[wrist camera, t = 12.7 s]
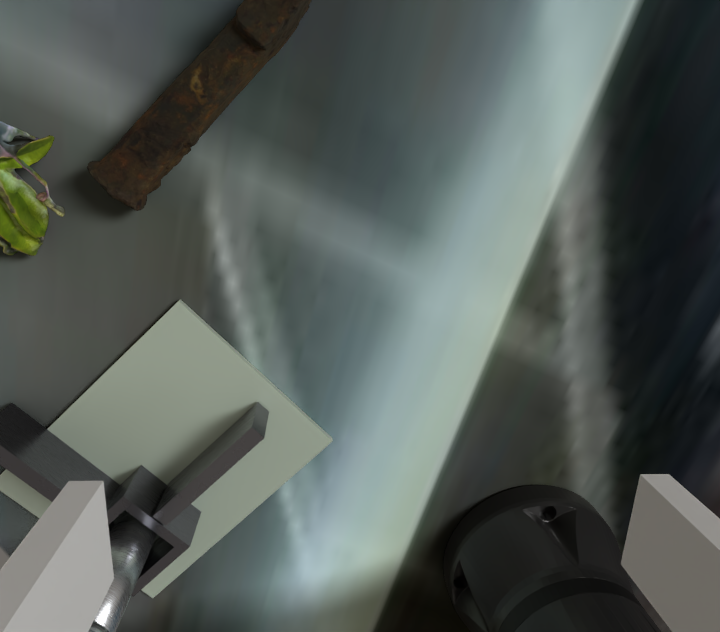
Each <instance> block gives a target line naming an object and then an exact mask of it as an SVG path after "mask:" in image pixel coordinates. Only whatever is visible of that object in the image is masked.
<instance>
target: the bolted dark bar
mask: <svg viewBox="0 0 720 632" xmlns="http://www.w3.org/2000/svg"><path fill="white" fill-rule="evenodd" d="M268 416H269V411H268V410H267V409H266V408H264V407H263V406H262V405H261V404H260V403H259V402H257V403H256V404H255V405H254V406H253V407H252V408H250V409H249V410H248V411H247V412H246V413H245V414H244V415H243V416H242V417H241V418H239V419H238V420H237V421H236V422H235V423H234V424H233V425H232V426H231V427H230V428H228V429H227V430H226V431H225V432H224V433H223V434H222V435H221V436H220V437H219V438H217V439H216V440H215V441H214V442H213V443H212V444H211V445H210V446H209V447H208V448H207V449H205V450H204V451H203V452H202V453H201V454H200V455H199V456H198V457H197V458H196V459H194V460H193V461H192V462H191V463H190V464H189V465H188V466H187V467H186V468H185V469H183V470H182V471H181V472H180V473H179V474H178V475H177V476H176V477H175V478H174V479H172V480H171V481H170V482H169V483H168V485H167V487H166V489H165V491H164V494H163V496H162V498H161V500H160V502H159V504H158V507H157V509H156V511H155V513H154V515H153V517H154V518H156V519H157V520H158V521H160V522H161V523H162V524H164V525H165V526H167V525H168V524H169V523H170V522H171V521H172V520H173V519H175V518H176V517H177V516H178V515H179V514H180V513H181V512H182V511H184V510H185V509H186V508H187V507H188V506H189V505H190V504H191V503H192V502H194V501H195V500H196V499H197V498H198V497H199V496H200V495H201V494H203V493H204V492H205V491H206V490H207V489H208V488H209V487H210V486H211V485H213V484H214V483H215V482H216V481H217V480H218V479H219V478H220V477H221V476H223V475H224V474H225V473H226V472H227V471H228V470H229V469H230V468H232V467H233V466H234V465H235V464H236V463H237V462H238V461H239V460H240V459H242V458H243V457H244V456H245V455H246V454H247V453H248V452H249V451H251V450H252V449H253V448H254V447H255V446H256V445H257V444H258V443H259V442H261V441H262V440H263V439H264V437H265V432H266V427H267V421H268Z"/></svg>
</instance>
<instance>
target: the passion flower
mask: <svg viewBox="0 0 720 632" xmlns="http://www.w3.org/2000/svg"><path fill="white" fill-rule="evenodd" d="M15 136H20V137H23V138H29V139H31V140H34V141H32V142H29V143H24V144H22V145H9V144H6V143H9V142H11V141H12V140H13V138H14V137H15ZM53 141H54V137H53V136H50V135H49V136H47V137H45V138H42V139H39V138H36V137H34V136H31V135H29V134H28V133H26V132H24V131H22V130H20V129H17V128H15V127H12V126H9V125H7V124H5V123H3V122H1V121H0V246H2V247H3V252H4V253H5V254H7V255H14V254H15V253H17V252H18V251H19V252H22V253H24V254H27V255H29V256H34V255H36V254H37V252H38V249H39V247H40V246H41V245H42V244H43V241H44V236H45V232H46V230H47V226H48V221H49V213H48V210H47V207H49V208H50V209H52V211H54V212H56V214H57V215H60V216H61V217H62V216H64V214H65V210H64V208H63V207H60V206H58V205H57V204H55V203H54V202H53V201H52V199H51V198H50V196H49V190H48V186H47V182H46V181H44V180H43V179H42V178H41V177H40V176H39V175H38V174H37V173H36V172H35V171H34V170H33V169H32V168H31V167H30V165H32V164H34V163H37V162H38V161H39V160H40V159H41V158H43V157H44V156H45V155H46V154H47V153H48V151H49V150H50V148H51V146H52V143H53ZM16 168H24V169H26V170H28V171H29V172H30V173H31V174H32V175H33V176H34V177H35V179H37V180H38V181H39V182H40V183H41V184H43V185H44V186H45V188H46V192H41V193H39V194H38V193H37V192H36V191H35V190H34V189H33V188H32V187H31V186H30V185H29V184H27V183H26V182H25V181H24V180H23V179H22V177H21V176H19V175H18V174H17V173H16V172H15V169H16ZM46 206H47V207H46Z"/></svg>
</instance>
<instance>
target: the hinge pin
mask: <svg viewBox="0 0 720 632" xmlns="http://www.w3.org/2000/svg"><path fill="white" fill-rule="evenodd" d="M156 536H157V534H156V533H155V532H154V531H152V530H151V529H150V528H148V527H147V526H145V525H144V524H143V523H141V522H140V521H139V520H137V519H136V518H135V517H133V516H132V515H131V514H129V513H128V512H127V511H125V510H124V511H123V512H122V513H121V514H120V515H119V517H118V519H117V520H116V522H115V524H114V526H113V528H112V529H111V531H110V533H109V537H110V546H111V555H112V564H113V573H114V580H113V582H112V584H111V586H110V588H109V590H108V592H107V594H106V596H105V598H104V600H103V602H102V604H101V606H100V608H99V611H98V613H97V615H96V617H95V619H94V621H93V623H92V625H91V627H90V629H89V631H88V632H116V630H117V627H118V625H119V623H120V620H121V618H122V616H123V613H124V611H125V609H126V606H127V604H128V602H129V599H130V597H131V595H132V592H133V590H134V587H135V585H136V583H137V580H138V578H139V576H140V573H141V571H142V569H143V566H144V564H145V562H146V559H147V557H148V554H149V552H150V550H151V547H152V545H153V543H154V540H155V538H156Z"/></svg>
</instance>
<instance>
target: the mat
mask: <svg viewBox="0 0 720 632" xmlns="http://www.w3.org/2000/svg"><path fill="white" fill-rule="evenodd" d="M257 402H259V403H260V404H261V405H262V406H263V407H264V408H266V409H267V410H268V411H269V416H268V421H267V427H266V432H265V437H264V439H263V440H262V441H261V442H259V443H258V444H257V445H256V446H255V447H254V448H253V449H252V450H251V451H249V452H248V453H247V454H246V455H245V456H244V457H243V458H242V459H240V460H239V461H238V462H237V463H236V464H235V465H234V466H233V467H232V468H230V469H229V470H228V471H227V472H226V473H225V474H224V475H223V476H221V477H220V478H219V479H218V480H217V481H216V482H215V483H214V484H213V485H211V486H210V487H209V488H208V489H207V490H206V491H205V492H204V493H203V494H201V495H200V496H199V497H198V498H197V499H196V500H195V501H194V502H192V503H191V504H192V505H193V506H194V507H196V508H197V509H198V510H200V511H201V515H200V518H199V521H198V524H197V527H196V530H195V533H194V536H193V539H192V542H191V545H190V547H189V548H188V549H187V550H186V551H185V552H184V553H182V554H181V555H180V556H179V557H178V558H177V559H176V560H174V561H173V562H172V563H171V564H170V565H169V566H168V567H166V568H165V569H164V570H163V571H162V572H161V573H160V574H159V575H157V576H156V577H155V578H154V579H153V580H152V581H151V582H149V583H148V584H147V585H146V586H145V587H144V588H143V589H142V591H143V592H145V593H146V594H148V595H149V596H150V597H152V598H154V597H155V596H156V595H157V594H158V593H159V592H161V591H162V590H163V589H164V588H165V587H166V586H167V585H169V584H170V583H171V582H172V581H173V580H174V579H175V578H177V577H178V576H179V575H180V574H181V573H182V572H184V571H185V570H186V569H187V568H188V567H189V566H190V565H192V564H193V563H194V562H195V561H196V560H197V559H198V558H200V557H201V556H202V555H203V554H204V553H205V552H206V551H208V550H209V549H210V548H211V547H212V546H213V545H214V544H216V543H217V542H218V541H219V540H220V539H221V538H222V537H224V536H225V535H226V534H227V533H228V532H229V531H230V530H232V529H233V528H234V527H235V526H236V525H237V524H238V523H240V522H241V521H242V520H243V519H244V518H245V517H246V516H248V515H249V514H250V513H251V512H252V511H253V510H254V509H256V508H257V507H258V506H259V505H260V504H261V503H262V502H264V501H265V500H266V499H267V498H268V497H269V496H271V495H272V494H273V493H274V492H275V491H276V490H277V489H279V488H280V487H281V486H282V485H283V484H284V483H285V482H287V481H288V480H289V479H290V478H291V477H292V476H293V475H295V474H296V473H297V472H298V471H299V470H300V469H301V468H303V467H304V466H305V465H306V464H307V463H308V462H309V461H311V460H312V459H313V458H314V457H315V456H316V455H317V454H319V453H320V452H321V451H322V450H323V449H324V448H325V447H327V446H328V445H329V444H330V443H331V442H332V437H331V436H329V435H328V434H327V433H326V432H325V431H324V430H323V429H322V428H321V427H320V426H319V425H317V424H316V423H315V422H314V421H313V420H312V419H311V418H310V417H309V416H308V415H306V414H305V413H304V412H303V411H302V410H301V409H300V408H299V407H298V406H297V405H296V404H294V403H293V402H292V401H291V400H290V399H289V398H288V397H287V396H286V395H285V394H283V393H282V392H281V391H280V390H279V389H278V388H277V387H276V386H275V385H274V384H273V383H271V382H270V381H269V380H268V379H267V378H266V377H265V376H264V375H263V374H262V373H261V372H259V371H258V370H257V369H256V368H255V367H254V366H253V365H252V364H251V363H250V362H248V361H247V360H246V359H245V358H244V357H243V356H242V355H241V354H240V353H239V352H238V351H236V350H235V349H234V348H233V347H232V346H231V345H230V344H229V343H228V342H227V341H226V340H224V339H223V338H222V337H221V336H220V335H219V334H218V333H217V332H216V331H215V330H213V329H212V328H211V327H210V326H209V325H208V324H207V323H206V322H205V321H204V320H203V319H201V318H200V317H199V316H198V315H197V314H196V313H195V312H194V311H193V310H192V309H190V308H189V307H188V306H187V305H186V304H185V303H184V302H183V301H182V300H181V299H180V300H179V301H178V302H177V303H176V304H175V305H174V306H173V307H172V308H171V309H170V310H169V311H168V312H167V313H166V314H165V315H164V316H163V317H162V318H161V319H160V320H159V321H158V322H157V323H156V324H154V325H153V326H152V327H151V328H150V329H149V330H148V331H147V332H146V333H145V334H144V335H143V336H142V337H141V338H140V339H139V340H138V341H137V342H136V343H135V344H134V345H133V346H132V347H131V348H130V349H129V350H128V351H127V352H126V353H125V354H124V355H123V356H122V357H121V358H120V359H119V360H118V361H117V362H116V363H114V364H113V365H112V366H111V367H110V368H109V369H108V370H107V371H106V372H105V373H104V374H103V375H102V376H101V377H100V378H99V379H98V380H97V381H96V382H95V383H94V384H93V385H92V386H91V387H90V388H89V389H88V390H87V391H86V392H85V393H84V394H83V395H82V396H81V397H80V398H79V399H78V400H77V401H76V402H74V403H73V404H72V405H71V406H70V407H69V408H68V409H67V410H66V411H65V412H64V413H63V414H62V415H61V416H60V417H59V418H58V419H57V420H56V421H55V422H54V423H53V424H52V425H51V426H50V427H49V428H48V429H47V430H48V431H50V432H51V433H52V434H54V435H55V436H56V437H58V438H59V439H60V440H62V441H63V442H64V443H66V444H67V445H68V446H70V447H71V448H72V449H73V450H75V451H76V452H77V453H79V454H80V455H81V456H83V457H84V458H85V459H87V460H88V461H89V462H91V463H92V464H93V465H94V466H96V467H97V468H98V469H100V470H101V471H102V472H104V473H105V474H106V475H108V476H109V477H110V478H112V479H113V480H114V481H115V482H117V483H118V484H119V485H120V484H121V483H123V482H124V481H125V480H126V479H127V478H128V477H129V476H130V475H131V474H132V473H133V472H134V471H135V470H137V469H138V468H139V467H140V466H141V465H142V466H143V467H145V468H146V469H147V470H149V471H150V472H151V473H152V474H154V475H155V476H156V477H158V478H159V479H160V480H161V481H163V482H164V483H165V484H166V485H168V483H169V482H170V481H171V480H172V479H174V478H175V477H176V476H177V475H178V474H179V473H180V472H181V471H182V470H183V469H185V468H186V467H187V466H188V465H189V464H190V463H191V462H192V461H193V460H194V459H196V458H197V457H198V456H199V455H200V454H201V453H202V452H203V451H204V450H205V449H207V448H208V447H209V446H210V445H211V444H212V443H213V442H214V441H215V440H216V439H217V438H219V437H220V436H221V435H222V434H223V433H224V432H225V431H226V430H227V429H228V428H230V427H231V426H232V425H233V424H234V423H235V422H236V421H237V420H238V419H239V418H241V417H242V416H243V415H244V414H245V413H246V412H247V411H248V410H249V409H250V408H252V407H253V406H254V405H255V404H256V403H257ZM0 491H1V492H3V493H4V494H6V495H7V496H8V497H10V498H11V499H13V500H14V501H16V502H17V503H18V504H20V505H21V506H23V507H24V508H25V509H27V510H28V511H30V512H31V513H33V514H34V515H35V516H37V517H38V518H41V516H42V515H43V514H44V512H45V511H46V510H47V508H48V507H49V506H50V505H51V503H52V502H51V501H50V500H49V499H47V498H46V497H44V496H43V495H42V494H40V493H39V492H37V491H36V490H35V489H33V488H32V487H30V486H29V485H28V484H26V483H25V482H24V481H22V480H21V479H19V478H18V477H17V476H15V475H14V474H12V473H11V472H10V471H8V470H7V469H6V470H5V471H4V472H3V473H2V474H1V475H0ZM118 517H119V516H118ZM118 517H117V518H116V519H114V520H113V521H114V522H116V520H117V519H118ZM159 537H160V536H159V535H158V534H157V536H156V538H155V540H157V539H158V538H159ZM155 540H154V541H155Z"/></svg>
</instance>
